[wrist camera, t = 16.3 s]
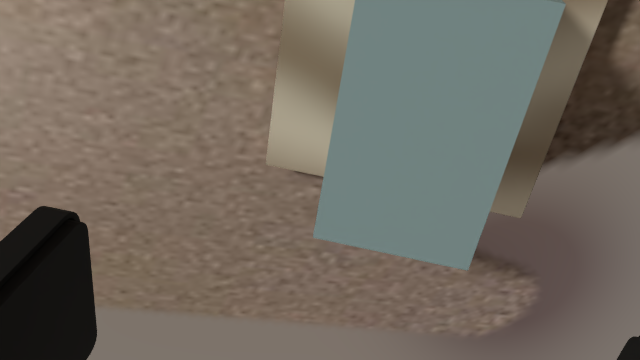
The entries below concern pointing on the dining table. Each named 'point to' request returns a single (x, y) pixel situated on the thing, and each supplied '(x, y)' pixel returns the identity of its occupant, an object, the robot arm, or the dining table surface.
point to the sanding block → (429, 121)
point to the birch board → (325, 77)
